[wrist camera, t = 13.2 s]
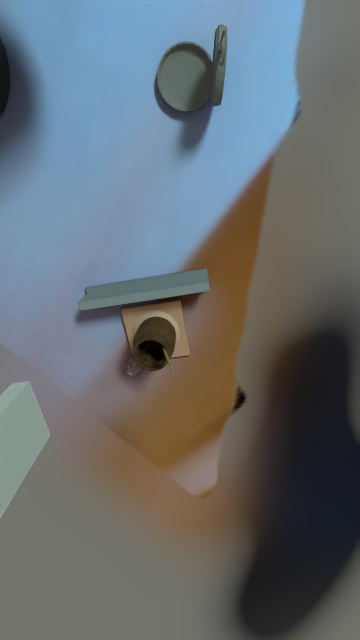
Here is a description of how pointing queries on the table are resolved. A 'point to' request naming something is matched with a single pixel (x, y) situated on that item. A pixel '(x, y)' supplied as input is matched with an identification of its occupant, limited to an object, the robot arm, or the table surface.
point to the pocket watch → (193, 73)
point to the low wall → (145, 289)
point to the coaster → (161, 309)
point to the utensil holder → (153, 344)
